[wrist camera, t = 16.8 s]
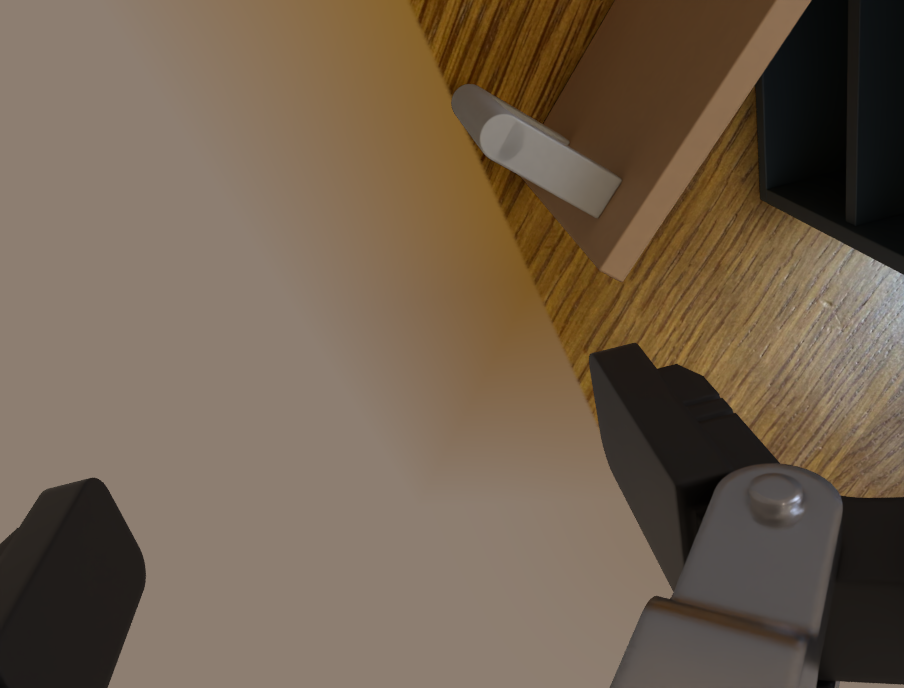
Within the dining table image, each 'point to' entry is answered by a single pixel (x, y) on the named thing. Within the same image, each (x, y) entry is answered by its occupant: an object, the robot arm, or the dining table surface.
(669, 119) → the cupboard door
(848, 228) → the cupboard
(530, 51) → the dining table surface
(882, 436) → the dining table surface
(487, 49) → the dining table surface
